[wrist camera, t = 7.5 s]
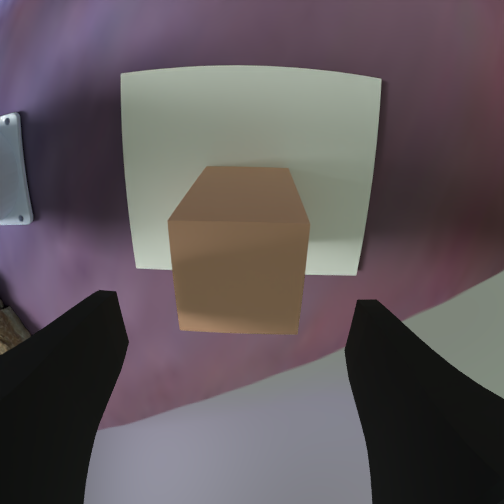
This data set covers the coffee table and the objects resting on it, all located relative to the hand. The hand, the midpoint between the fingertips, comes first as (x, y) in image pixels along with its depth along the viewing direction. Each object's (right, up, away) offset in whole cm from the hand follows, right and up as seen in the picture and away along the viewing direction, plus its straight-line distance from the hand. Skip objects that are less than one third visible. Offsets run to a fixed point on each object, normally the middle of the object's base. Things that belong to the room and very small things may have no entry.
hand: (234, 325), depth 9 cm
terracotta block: (0, +5, +9) cm, 10 cm away
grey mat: (0, +6, +8) cm, 11 cm away
